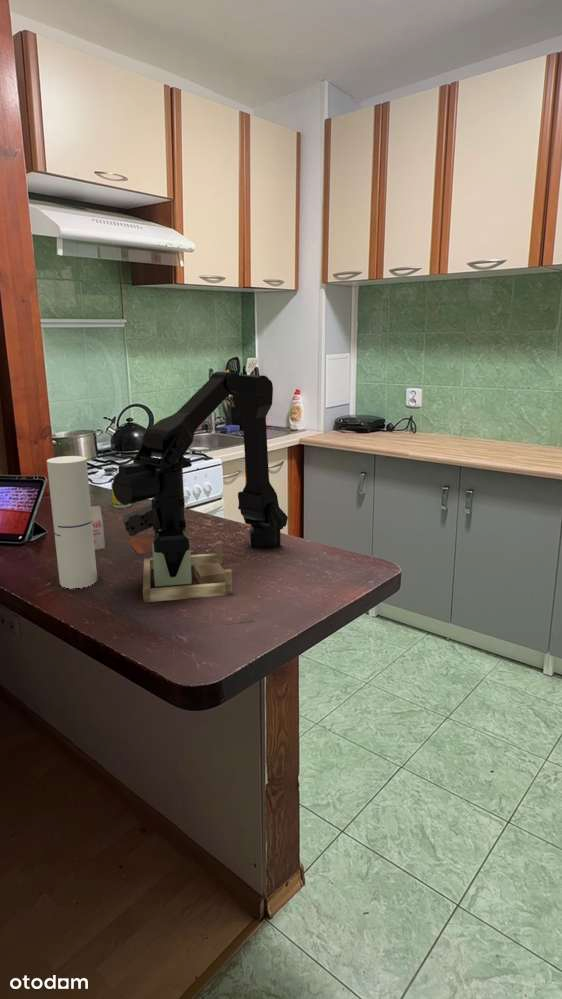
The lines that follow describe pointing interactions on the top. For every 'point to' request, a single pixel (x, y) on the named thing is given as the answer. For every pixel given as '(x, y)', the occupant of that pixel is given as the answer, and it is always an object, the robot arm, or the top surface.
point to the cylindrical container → (72, 521)
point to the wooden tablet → (142, 543)
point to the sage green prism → (163, 574)
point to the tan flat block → (209, 573)
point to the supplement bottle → (115, 501)
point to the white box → (97, 528)
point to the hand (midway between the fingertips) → (172, 571)
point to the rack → (188, 590)
